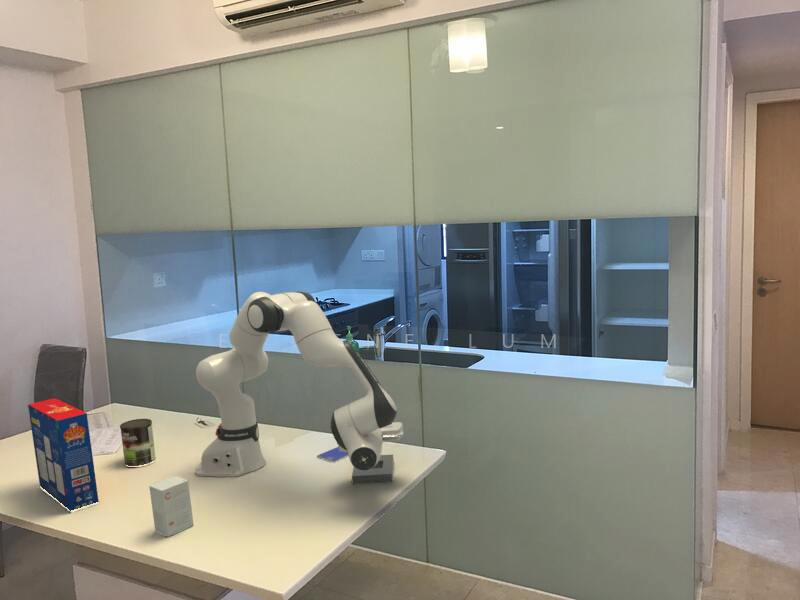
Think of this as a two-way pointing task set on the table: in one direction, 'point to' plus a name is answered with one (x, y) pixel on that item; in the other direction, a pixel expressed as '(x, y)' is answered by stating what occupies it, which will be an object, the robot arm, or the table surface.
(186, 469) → the table surface
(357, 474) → the socket plate
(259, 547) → the table surface
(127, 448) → the coffee can
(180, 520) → the small box
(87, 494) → the blue cereal box
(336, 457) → the hard drive
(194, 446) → the table surface
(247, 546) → the table surface
